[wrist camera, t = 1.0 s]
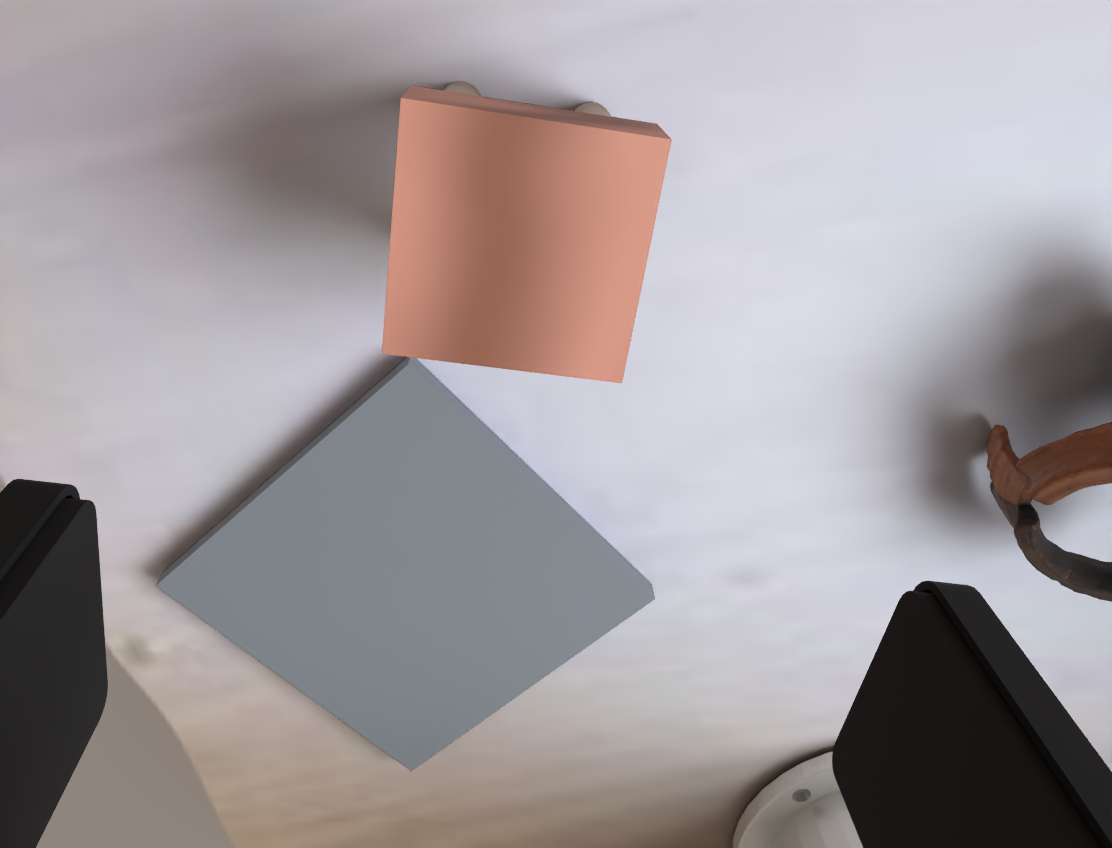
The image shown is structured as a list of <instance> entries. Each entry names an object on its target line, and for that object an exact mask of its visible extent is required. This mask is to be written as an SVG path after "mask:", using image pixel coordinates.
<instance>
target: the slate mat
mask: <svg viewBox="0 0 1112 848" xmlns="http://www.w3.org/2000/svg"><path fill="white" fill-rule="evenodd" d="M156 587H157V588H158V589H160V590H161V591H163V592H164V593H165V594H167V595H168V596H169V597H171V598H172V599H174V600H175V601H176V602H178V603H179V604H181V605H182V606H183V607H185V608H186V609H187V610H189V611H190V612H192V613H193V614H194V615H196V616H197V617H198V618H200V619H201V620H203V621H204V622H205V623H207V624H208V625H210V626H211V627H212V628H214V629H215V630H216V631H218V632H219V633H221V634H222V635H223V636H225V637H226V638H228V639H229V640H230V641H232V642H233V643H234V644H236V645H237V646H239V647H240V648H241V649H243V650H244V651H246V652H247V653H248V654H250V655H251V656H252V657H254V658H255V659H257V660H258V661H259V662H261V663H262V664H264V665H265V666H266V667H268V668H269V669H270V670H272V671H273V672H275V673H276V674H277V675H279V676H280V677H282V678H283V679H284V680H286V681H287V682H288V683H290V684H291V685H293V686H294V687H295V688H297V689H298V690H300V691H301V692H302V693H304V694H305V695H306V696H308V697H309V698H311V699H312V700H313V701H315V702H316V703H317V704H319V705H320V706H322V707H323V708H324V709H326V710H327V711H329V712H330V713H331V714H333V715H334V716H335V717H337V718H338V719H340V720H341V721H342V722H344V723H345V724H347V725H348V726H349V727H351V728H352V729H353V730H355V731H356V732H358V733H359V734H360V735H362V736H363V737H365V738H366V739H367V740H369V741H370V742H371V743H373V744H374V745H376V746H377V747H378V748H380V749H381V750H383V751H384V752H385V753H387V754H388V755H389V756H391V757H392V758H394V759H395V760H396V761H398V762H399V763H401V764H402V765H403V766H405V767H406V768H407V769H409V770H410V771H412V770H414V769H415V768H417V767H418V766H419V765H421V764H422V763H424V762H425V761H427V760H428V759H429V758H431V757H432V756H434V755H435V754H436V753H438V752H439V751H441V750H442V749H444V748H445V747H446V746H448V745H449V744H451V743H452V742H453V741H455V740H456V739H458V738H459V737H460V736H462V735H463V734H465V733H466V732H468V731H469V730H470V729H472V728H473V727H475V726H476V725H477V724H479V723H480V722H482V721H483V720H485V719H486V718H487V717H489V716H490V715H492V714H493V713H494V712H496V711H497V710H499V709H500V708H501V707H503V706H504V705H506V704H507V703H509V702H510V701H511V700H513V699H514V698H516V697H517V696H518V695H520V694H521V693H523V692H524V691H526V690H527V689H528V688H530V687H531V686H533V685H534V684H535V683H537V682H538V681H540V680H541V679H542V678H544V677H545V676H547V675H548V674H550V673H551V672H552V671H554V670H555V669H557V668H558V667H559V666H561V665H562V664H564V663H565V662H567V661H568V660H569V659H571V658H572V657H574V656H575V655H576V654H578V653H579V652H581V651H582V650H583V649H585V648H586V647H588V646H589V645H591V644H592V643H593V642H595V641H596V640H598V639H599V638H600V637H602V636H603V635H605V634H606V633H608V632H609V631H610V630H612V629H613V628H615V627H616V626H617V625H619V624H620V623H622V622H623V621H624V620H626V619H627V618H629V617H630V616H632V615H633V614H634V613H636V612H637V611H639V610H640V609H641V608H643V607H644V606H646V605H647V604H649V603H650V602H651V601H653V600H654V599H655V596H654V592H653V588H652V584H651V583H650V582H649V581H648V580H647V579H646V578H645V577H644V576H643V575H642V574H641V573H640V572H639V571H638V570H637V569H635V568H634V567H633V566H632V565H631V564H630V563H629V562H628V561H627V560H626V559H625V558H624V557H623V556H622V555H621V554H620V553H619V552H618V551H617V550H616V549H615V548H614V547H613V546H611V545H610V544H609V543H608V542H607V541H606V540H605V539H604V538H603V537H602V536H601V535H600V534H599V533H598V532H597V531H596V530H595V529H594V528H593V527H592V526H591V525H590V524H589V523H587V522H586V521H585V520H584V519H583V518H582V517H581V516H580V515H579V514H578V513H577V512H576V511H575V510H574V509H573V508H572V507H571V506H570V505H569V504H568V503H567V502H566V501H565V500H563V499H562V498H561V497H560V496H559V495H558V494H557V493H556V492H555V491H554V490H553V489H552V488H551V487H550V486H549V485H548V484H547V483H546V482H545V481H544V480H543V479H542V478H540V477H539V476H538V475H537V474H536V473H535V472H534V471H533V470H532V469H531V468H530V467H529V466H528V465H527V464H526V463H525V462H524V461H523V460H522V459H521V458H520V457H519V456H518V455H516V454H515V453H514V452H513V451H512V450H511V449H510V448H509V447H508V446H507V445H506V444H505V443H504V442H503V441H502V440H501V439H500V438H499V437H498V436H497V435H496V434H495V433H494V432H492V431H491V430H490V429H489V428H488V427H487V426H486V425H485V424H484V423H483V422H482V421H481V420H480V419H479V418H478V417H477V416H476V415H475V414H474V413H473V412H472V411H471V410H469V409H468V408H467V407H466V406H465V405H464V404H463V403H462V402H461V401H460V400H459V399H458V398H457V397H456V396H455V395H454V394H453V393H452V392H451V391H450V390H449V389H448V388H447V387H445V386H444V385H443V384H442V383H441V382H440V381H439V380H438V379H437V378H436V377H435V376H434V375H433V374H432V373H431V372H430V371H429V370H428V369H427V368H426V367H425V366H424V365H423V364H421V363H420V362H419V361H418V360H417V359H416V358H414V357H407V358H405V359H404V360H403V361H402V362H401V363H400V364H399V365H397V366H396V367H395V368H394V369H393V370H392V371H391V372H390V373H388V374H387V375H386V376H385V377H384V378H383V379H382V380H380V381H379V382H378V383H377V384H376V385H375V386H374V387H372V388H371V389H370V390H369V391H368V392H367V393H366V394H365V395H363V396H362V397H361V398H360V399H359V400H358V401H357V402H355V403H354V404H353V405H352V406H351V407H350V408H349V409H347V410H346V411H345V412H344V413H343V414H342V415H341V416H340V417H338V418H337V419H336V420H335V421H334V422H333V423H332V424H330V425H329V426H328V427H327V428H326V429H325V430H324V431H323V432H321V433H320V434H319V435H318V436H317V437H316V438H315V439H313V440H312V441H311V442H310V443H309V444H308V445H307V446H305V447H304V448H303V449H302V450H301V451H300V452H299V453H298V454H296V455H295V456H294V457H293V458H292V459H291V460H290V461H288V462H287V463H286V464H285V465H284V466H283V467H282V468H280V469H279V470H278V471H277V472H276V473H275V474H274V475H273V476H271V477H270V478H269V479H268V480H267V481H266V482H265V483H263V484H262V485H261V486H260V487H259V488H258V489H257V490H256V491H254V492H253V493H252V494H251V495H250V496H249V497H248V498H246V499H245V500H244V501H243V502H242V503H241V504H240V505H238V506H237V507H236V508H235V509H234V510H233V511H232V512H231V513H229V514H228V515H227V516H226V517H225V518H224V519H223V520H221V521H220V522H219V523H218V524H217V525H216V526H215V527H213V528H212V529H211V530H210V531H209V532H208V533H207V534H206V535H204V536H203V537H202V538H201V539H200V540H199V541H198V542H196V543H195V544H194V545H193V546H192V547H191V548H190V549H189V550H187V551H186V552H185V553H184V554H183V555H182V556H181V557H179V558H178V559H177V560H176V561H175V562H174V563H173V564H171V565H170V566H169V567H168V568H167V569H166V570H165V571H164V572H163V574H162V575H161V577H160V579H159V581H158V582H157V584H156Z"/></svg>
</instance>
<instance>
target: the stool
mask: <svg viewBox="0 0 1112 848" xmlns="http://www.w3.org/2000/svg"><path fill="white" fill-rule="evenodd" d="M671 140H672V139H671V138H670V137H669V136H668V135H667V134H666V133H665V132H664V131H663V130H662V129H661V128H660V127H659V126H658V124H654V123H648V122H642V121H635V120H629V119H622V118H616V117H611V115H610V114H609V112H608V111H607V110H606V109H605V108H604V107H603V106H602V105H600V104H598V103H594V102H588V103H584V104H581V105H580V106H578V107H577V108H576V109H575V110H574V111H571V110H565V109H558V108H552V107H546V106H539V105H533V104H526V103H520V102H514V101H507V100H501V99H494V98H488V97H481V95H480V93H479V92H478V90H477V89H476V88H475V87H474V86H472V85H471V84H469V83H466V82H454V83H452V84H450V85H448V86H447V87H446V88H445V89H444V90H437V89H430V88H424V87H417V86H410V87H409V88H408V90H407V91H406V92H405V93H404V94H403V96H402V97H401V101H400V115H399V128H398V142H397V155H396V169H395V182H394V196H393V209H392V223H391V236H390V250H389V263H388V277H387V290H386V303H385V317H384V330H383V344H382V354H389V355H397V356H405V357H414V358H422V359H430V360H438V361H446V362H454V363H462V364H470V365H478V366H486V367H495V368H503V369H511V370H519V371H527V372H535V373H543V374H551V375H559V376H567V377H575V378H584V379H592V380H600V381H608V382H616V383H622V380H623V375H624V371H625V366H626V361H627V356H628V351H629V346H630V341H631V336H632V331H633V326H634V322H635V317H636V312H637V307H638V302H639V297H640V292H641V287H642V282H643V277H644V272H645V268H646V263H647V258H648V253H649V248H650V243H651V238H652V233H653V228H654V223H655V219H656V214H657V209H658V204H659V199H660V194H661V189H662V184H663V179H664V174H665V169H666V165H667V160H668V155H669V150H670V145H671Z"/></svg>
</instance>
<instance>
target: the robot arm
mask: <svg viewBox="0 0 1112 848" xmlns="http://www.w3.org/2000/svg"><path fill="white" fill-rule="evenodd" d="M107 683H108V680H107V667H106V652H105V636H104V621H103V607H102V592H101V577H100V562H99V548H98V533H97V518H96V509H95V505H94V503H93V502H92V501H90V500H81V499H80V497H79V493H78V491H77V489H76V487H74V486H73V485H69V484H60V483H51V482H42V481H33V480H24V479H16V480H13V481H11V482H10V483H9V484H8V485H7V486H6V487H5V488H4V489H3V491H1V493H0V848H36V846H37V844H38V842H39V840H40V838H41V836H42V834H43V832H44V830H45V828H46V826H47V824H48V822H49V820H50V818H51V816H52V814H53V812H54V810H55V808H56V806H57V804H58V802H59V800H60V798H61V796H62V794H63V792H64V790H65V788H66V786H67V783H68V782H69V780H70V778H71V776H72V774H73V772H74V770H75V768H76V766H77V764H78V762H79V760H80V758H81V756H82V754H83V752H84V750H85V748H86V746H87V744H88V742H89V740H90V738H91V736H92V734H93V732H94V730H95V728H96V726H97V724H98V722H99V720H100V718H101V715H102V712H103V709H104V706H105V702H106V697H107V688H108V686H107V685H108V684H107ZM733 848H1112V772H1111V771H1110V769H1109V768H1108V767H1107V765H1106V764H1105V762H1104V761H1103V760H1102V758H1101V757H1100V756H1099V754H1098V753H1097V752H1096V750H1095V749H1094V748H1093V746H1092V745H1091V743H1090V742H1089V741H1088V739H1087V738H1086V737H1085V735H1084V734H1083V733H1082V731H1081V730H1080V729H1079V727H1078V726H1077V724H1076V723H1075V722H1074V720H1073V719H1072V718H1071V716H1070V715H1069V714H1068V712H1067V711H1066V709H1065V708H1064V707H1063V705H1062V704H1061V703H1060V701H1059V700H1058V699H1057V697H1056V696H1055V695H1054V693H1053V692H1052V690H1051V689H1050V688H1049V686H1048V685H1047V684H1046V682H1045V681H1044V680H1043V678H1042V677H1041V676H1040V674H1039V673H1038V671H1037V670H1036V669H1035V667H1034V666H1033V665H1032V663H1031V662H1030V661H1029V659H1028V658H1027V657H1026V655H1025V654H1024V652H1023V651H1022V650H1021V648H1020V647H1019V646H1018V644H1017V643H1016V642H1015V640H1014V639H1013V638H1012V636H1011V635H1010V633H1009V632H1008V631H1007V629H1006V628H1005V627H1004V625H1003V624H1002V623H1001V621H1000V620H999V619H998V617H997V616H996V614H995V613H994V612H993V610H992V609H991V608H990V606H989V605H988V604H987V602H986V601H985V599H984V598H983V597H982V595H981V594H980V593H979V592H978V591H977V590H976V589H975V588H974V587H971V586H968V585H960V584H951V583H943V582H934V581H924V582H921V583H920V584H919V585H917V586H916V587H915V589H914V591H908V592H906V593H904V594H903V595H902V597H901V598H900V600H899V602H898V604H897V607H896V609H895V611H894V613H893V616H892V618H891V620H890V622H889V624H888V627H887V629H886V631H885V633H884V636H883V638H882V640H881V642H880V644H879V647H878V649H877V651H876V653H875V656H874V658H873V660H872V662H871V664H870V667H869V669H868V671H867V673H866V676H865V678H864V680H863V682H862V684H861V687H860V689H859V691H858V693H857V696H856V698H855V700H854V702H853V705H852V707H851V709H850V711H849V713H848V716H847V718H846V720H845V722H844V725H843V727H842V729H841V731H840V733H839V736H838V738H837V740H836V742H835V745H834V748H833V751H832V752H828V753H825V754H822V755H820V756H817V757H815V758H812V759H810V760H807V761H805V762H802V763H801V764H799V765H797V766H795V767H794V768H792V769H790V770H788V771H786V772H785V773H783V774H781V775H780V776H779V777H778V778H776V779H775V780H774V781H772V782H771V783H770V784H769V785H767V786H766V787H765V788H764V789H762V791H761V792H760V793H759V794H758V795H757V796H756V797H755V798H754V799H753V800H752V802H751V803H750V804H749V805H748V807H747V808H746V810H745V811H744V813H743V815H742V816H741V818H740V820H739V821H738V824H737V828H736V831H735V834H734V837H733Z"/></svg>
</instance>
